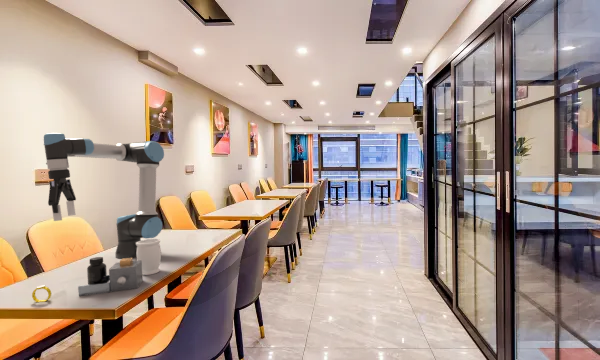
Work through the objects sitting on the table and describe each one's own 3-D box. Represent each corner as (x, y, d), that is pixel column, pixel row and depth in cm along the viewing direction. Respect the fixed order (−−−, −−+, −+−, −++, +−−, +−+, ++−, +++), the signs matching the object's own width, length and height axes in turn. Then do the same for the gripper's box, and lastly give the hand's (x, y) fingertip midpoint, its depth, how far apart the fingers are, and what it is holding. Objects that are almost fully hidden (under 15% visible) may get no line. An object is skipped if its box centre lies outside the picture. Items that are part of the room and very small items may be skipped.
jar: (146, 277, 151) (144, 244, 150) (133, 274, 156) (130, 242, 155) (166, 270, 160) (164, 239, 159) (153, 267, 165) (151, 237, 164)
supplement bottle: (109, 286, 138) (107, 257, 138) (90, 291, 133) (88, 261, 133) (104, 282, 143) (103, 255, 143) (86, 287, 138) (84, 258, 138)
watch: (31, 304, 126) (29, 289, 125) (36, 301, 128) (34, 286, 128) (49, 301, 127) (46, 286, 126) (53, 298, 129) (51, 283, 129)
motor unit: (90, 285, 143) (88, 260, 142) (143, 279, 148) (141, 255, 147) (76, 298, 129) (74, 270, 129) (135, 290, 134) (133, 263, 134)
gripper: (61, 169, 156) (67, 214, 157) (33, 171, 131) (40, 224, 133) (79, 167, 157) (85, 212, 159) (54, 169, 133) (62, 221, 135)
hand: (65, 217), depth 146 cm, fingers open, 13 cm apart
